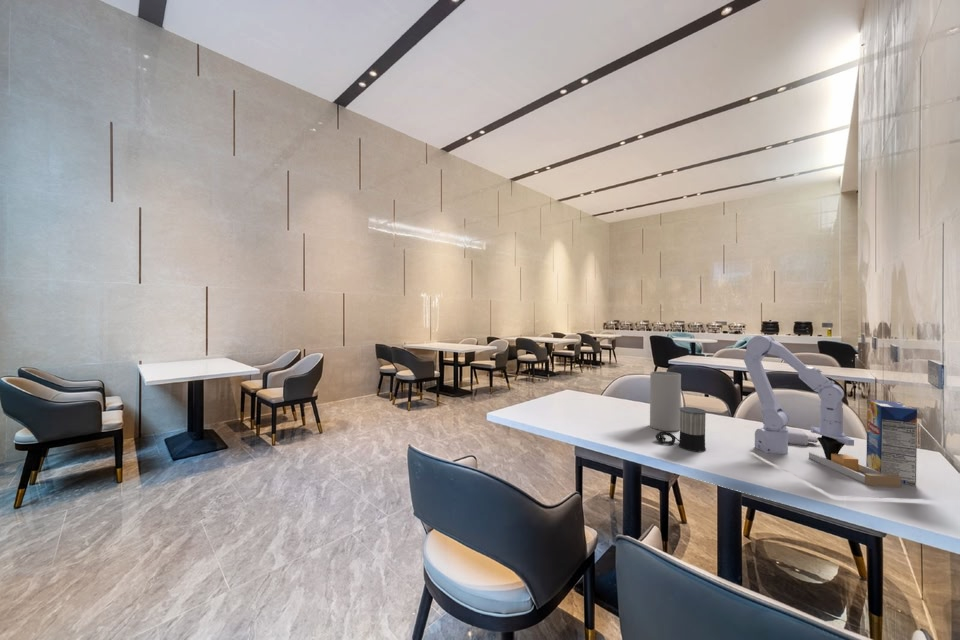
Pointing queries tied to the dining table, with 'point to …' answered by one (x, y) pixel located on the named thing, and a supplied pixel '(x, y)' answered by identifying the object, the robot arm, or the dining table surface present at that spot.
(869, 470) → the track
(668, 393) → the cylinder vase
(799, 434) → the charger
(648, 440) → the dining table surface
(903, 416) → the blue food box
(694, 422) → the milk frother
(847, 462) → the orange cube
